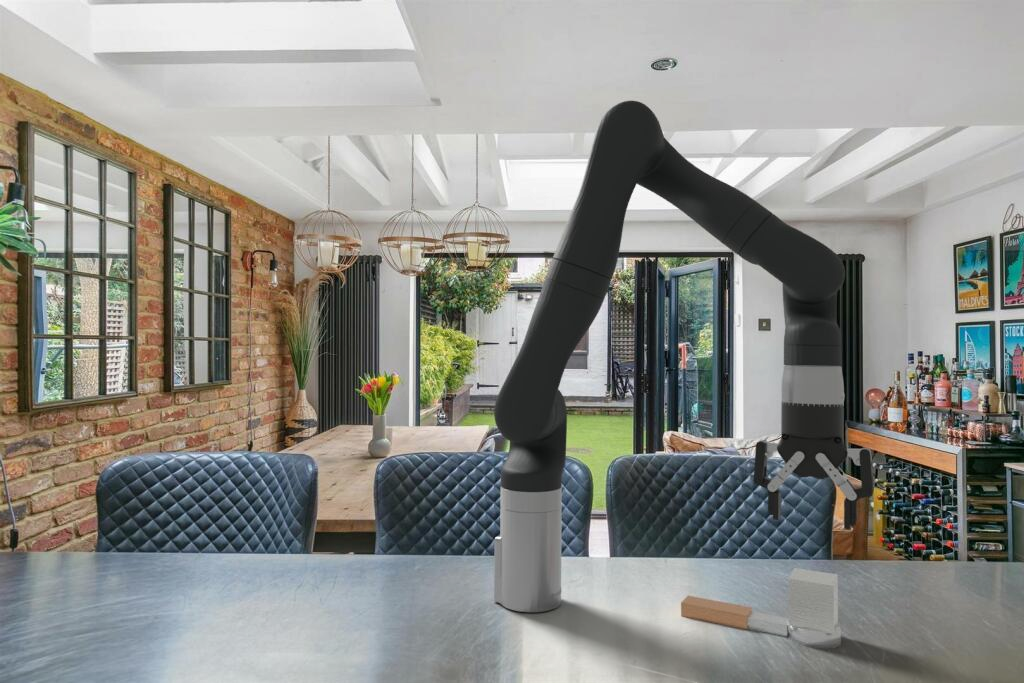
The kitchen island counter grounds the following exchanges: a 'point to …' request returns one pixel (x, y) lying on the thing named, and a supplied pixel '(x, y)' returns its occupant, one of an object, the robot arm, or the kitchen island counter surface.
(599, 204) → the robot arm
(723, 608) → the ratchet
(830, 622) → the light grey block
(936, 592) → the kitchen island counter surface
